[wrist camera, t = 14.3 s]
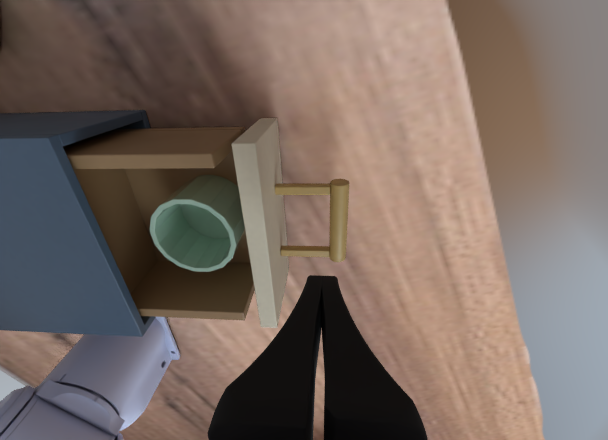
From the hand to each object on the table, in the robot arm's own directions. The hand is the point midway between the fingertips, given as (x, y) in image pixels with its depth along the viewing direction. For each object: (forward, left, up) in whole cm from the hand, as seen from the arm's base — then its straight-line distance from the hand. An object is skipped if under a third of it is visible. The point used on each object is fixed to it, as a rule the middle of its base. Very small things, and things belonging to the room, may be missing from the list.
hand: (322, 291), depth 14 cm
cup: (0, +9, -9) cm, 12 cm away
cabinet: (0, +20, -10) cm, 22 cm away
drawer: (0, +7, -10) cm, 12 cm away
